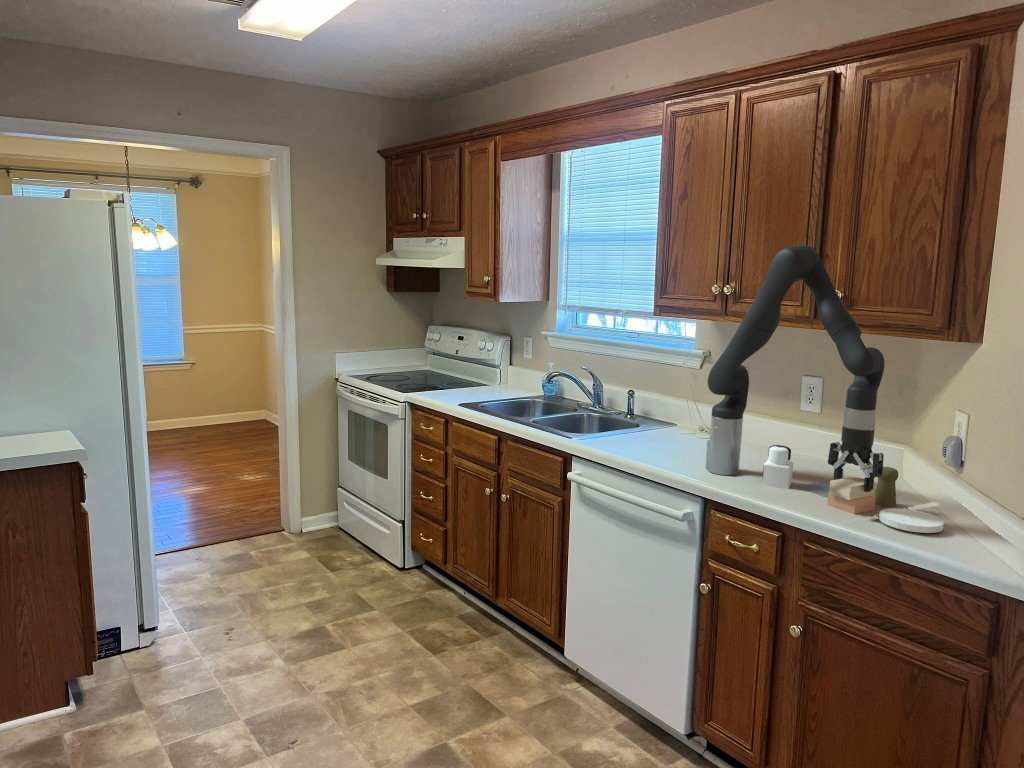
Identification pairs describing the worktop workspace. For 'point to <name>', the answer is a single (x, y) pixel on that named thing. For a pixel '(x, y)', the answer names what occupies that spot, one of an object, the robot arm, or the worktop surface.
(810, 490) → the mat
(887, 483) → the cork
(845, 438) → the robot arm
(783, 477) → the medicine bottle
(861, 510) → the pink hollow block
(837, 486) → the cream wooden block
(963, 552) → the worktop surface
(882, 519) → the plastic lid
